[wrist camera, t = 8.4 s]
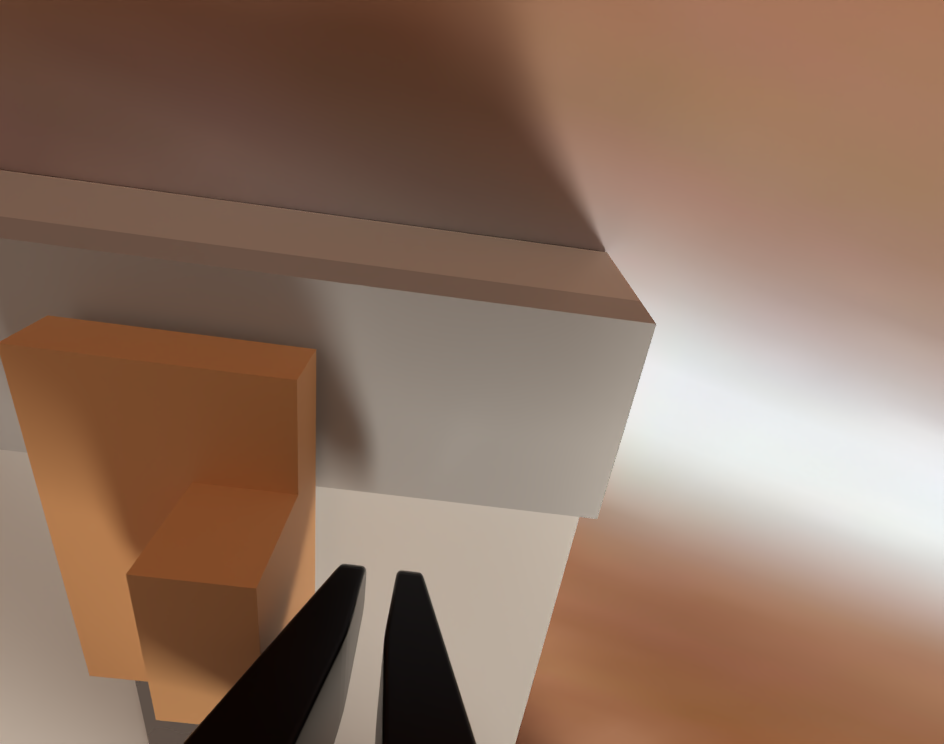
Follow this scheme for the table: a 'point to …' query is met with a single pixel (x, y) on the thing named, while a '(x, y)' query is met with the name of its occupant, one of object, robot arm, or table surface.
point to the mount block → (340, 420)
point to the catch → (171, 495)
